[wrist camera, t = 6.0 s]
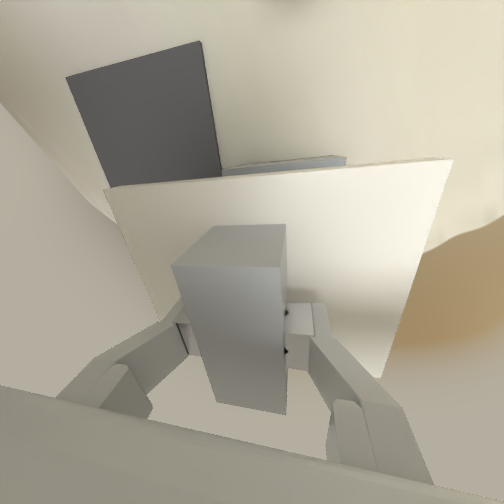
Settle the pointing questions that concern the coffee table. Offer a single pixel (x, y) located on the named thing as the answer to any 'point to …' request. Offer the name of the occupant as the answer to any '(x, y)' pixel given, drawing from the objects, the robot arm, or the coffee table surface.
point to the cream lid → (282, 261)
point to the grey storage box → (285, 165)
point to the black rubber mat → (150, 117)
